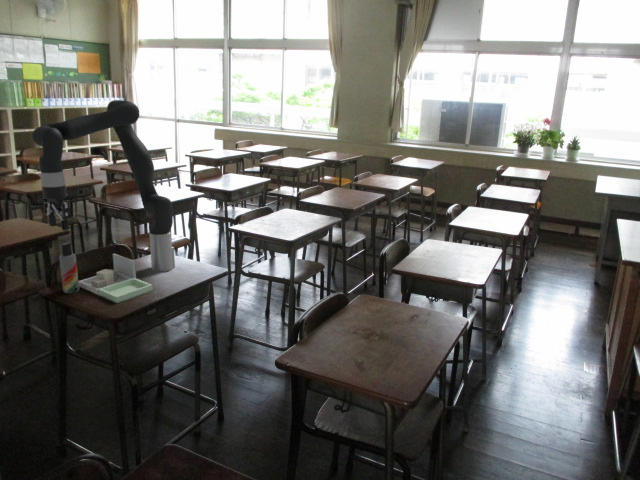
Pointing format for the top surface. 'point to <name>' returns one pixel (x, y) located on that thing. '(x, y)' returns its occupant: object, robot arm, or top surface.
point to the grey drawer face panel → (124, 265)
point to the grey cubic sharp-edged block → (115, 275)
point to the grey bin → (88, 286)
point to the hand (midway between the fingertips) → (59, 227)
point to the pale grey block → (99, 283)
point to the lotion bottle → (68, 269)
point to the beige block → (106, 276)
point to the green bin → (125, 290)
